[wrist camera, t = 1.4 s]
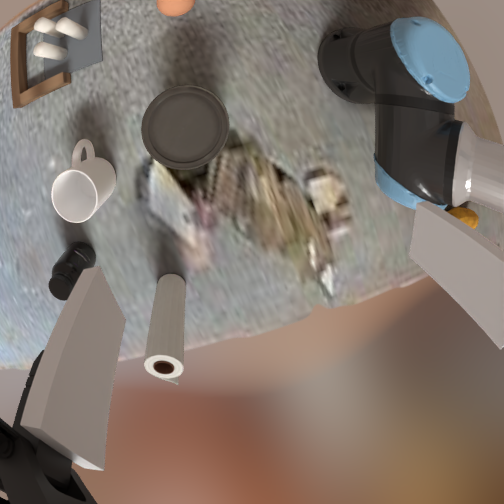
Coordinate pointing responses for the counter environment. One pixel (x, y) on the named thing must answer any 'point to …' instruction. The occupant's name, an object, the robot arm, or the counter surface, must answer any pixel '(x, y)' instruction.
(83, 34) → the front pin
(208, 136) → the coffee can
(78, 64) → the pin deck mark
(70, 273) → the supplement bottle
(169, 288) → the paper towel roll
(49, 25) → the pin
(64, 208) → the mug
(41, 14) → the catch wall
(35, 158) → the counter surface
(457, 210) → the potato
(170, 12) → the ball
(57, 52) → the pin
